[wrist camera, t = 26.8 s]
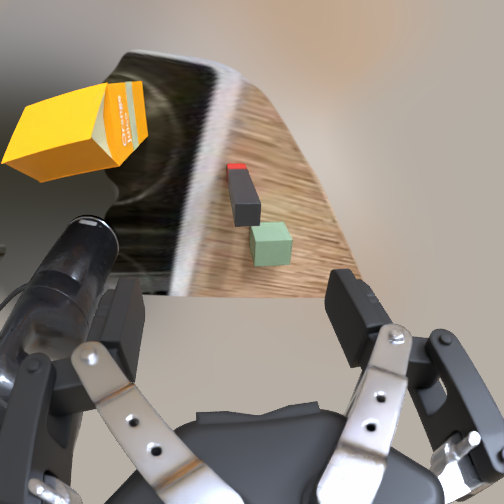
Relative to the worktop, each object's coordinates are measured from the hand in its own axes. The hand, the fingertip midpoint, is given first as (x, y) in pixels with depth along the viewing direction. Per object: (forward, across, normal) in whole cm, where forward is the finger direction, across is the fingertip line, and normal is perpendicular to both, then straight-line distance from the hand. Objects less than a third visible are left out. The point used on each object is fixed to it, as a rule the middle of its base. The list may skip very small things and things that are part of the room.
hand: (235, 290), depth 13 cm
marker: (+24, -3, +5) cm, 25 cm away
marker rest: (+31, -7, +14) cm, 35 cm away
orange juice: (+31, +14, -4) cm, 34 cm away
